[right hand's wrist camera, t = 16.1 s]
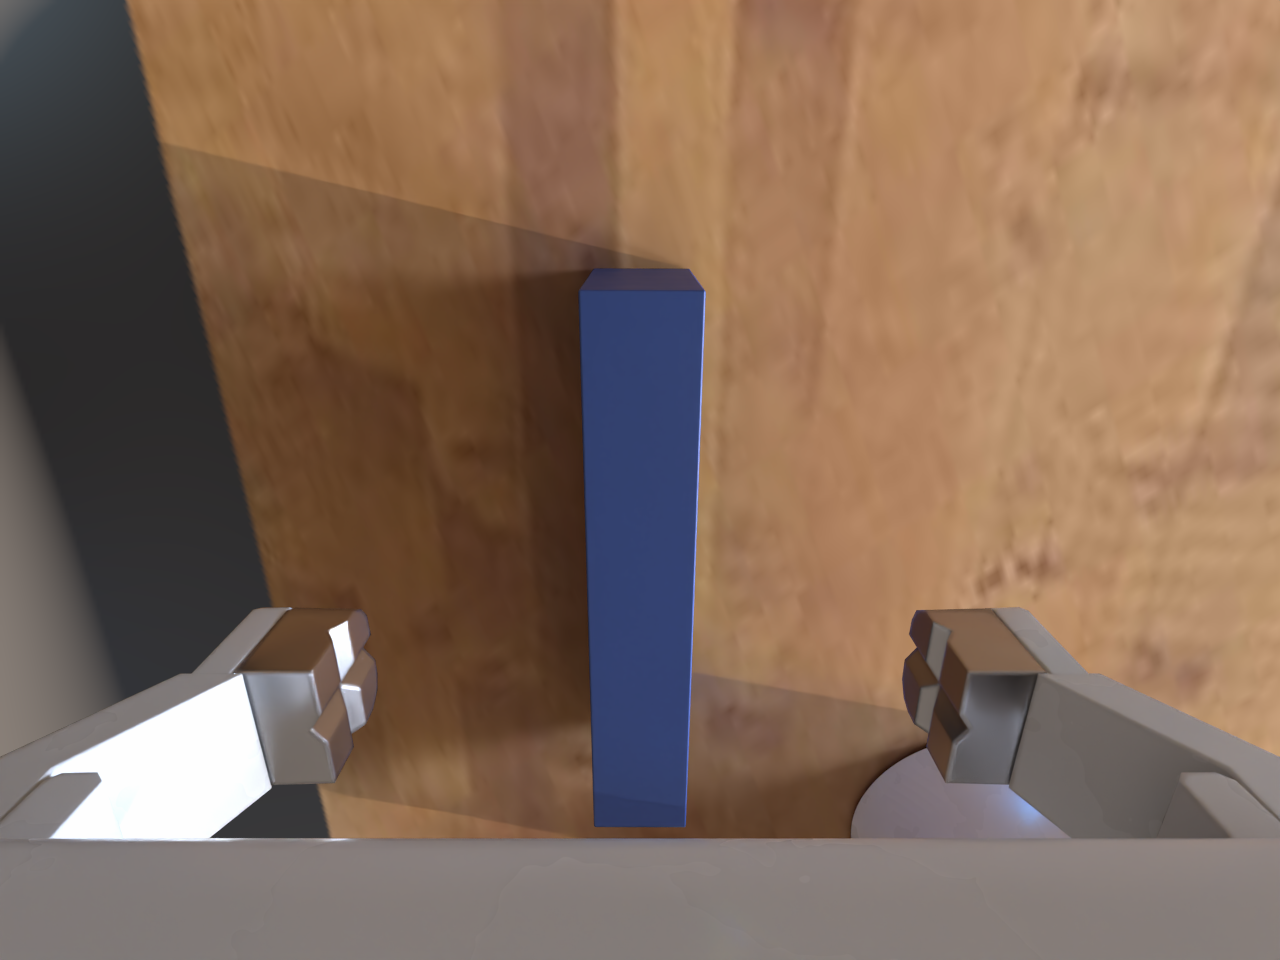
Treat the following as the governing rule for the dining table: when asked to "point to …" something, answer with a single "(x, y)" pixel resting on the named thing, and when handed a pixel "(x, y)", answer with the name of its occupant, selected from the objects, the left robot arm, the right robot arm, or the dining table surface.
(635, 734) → the bar
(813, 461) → the dining table surface
